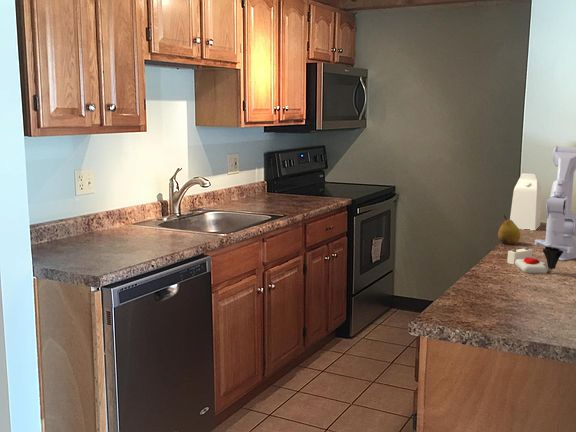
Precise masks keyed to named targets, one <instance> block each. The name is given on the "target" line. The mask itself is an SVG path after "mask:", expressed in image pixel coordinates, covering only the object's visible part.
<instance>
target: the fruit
mask: <svg viewBox="0 0 576 432" xmlns="http://www.w3.org/2000/svg"><path fill="white" fill-rule="evenodd" d="M503 217H504V219H505V220H504V221H503V222H502V223H501V225H500V226H499V229H498V232H497V237H498V240H499V242H500V243H502V244H504V245H516V244H517V243H519V241H520V239H521V231H520V229H518V227H517V226H516V225H515V224H514V222H513V221H512V220H510V218H509V219H507V217H506V215H503Z"/></svg>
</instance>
